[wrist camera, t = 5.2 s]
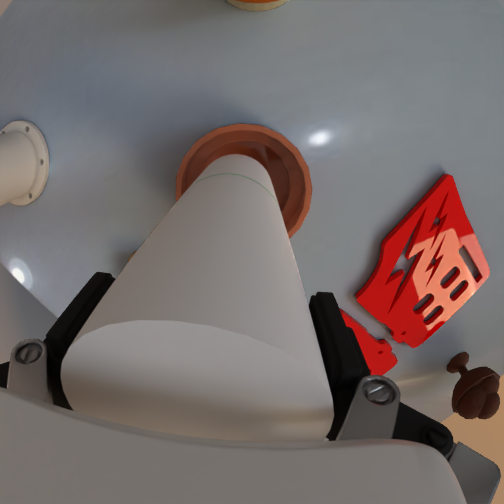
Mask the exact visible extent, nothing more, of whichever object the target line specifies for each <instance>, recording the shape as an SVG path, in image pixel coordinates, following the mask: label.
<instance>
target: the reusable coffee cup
mask: <svg viewBox="0 0 504 504" xmlns="http://www.w3.org/2000/svg"><path fill="white" fill-rule="evenodd" d="M226 1H227V2H228V3H230V4H232V5H233V6H235V7H238V8H240V9H244V10H247V11H266V10H271V9H274V8H277V7H279V6H281V5H283V4H284V3H285V2H287V1H288V0H226Z"/></svg>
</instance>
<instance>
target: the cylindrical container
mask: <svg viewBox="0 0 504 504" xmlns="http://www.w3.org/2000/svg"><path fill="white" fill-rule="evenodd" d="M60 377H61V382H62V387H63V391H64V393H65V396H66V398H67V400H68V402H69V404H70V406H71V407H72V409H73V410H74V411H75V412H78V413H81V414H85V415H88V416H92V417H95V418H99V419H103V420H107V421H111V422H115V423H119V424H124V425H128V426H133V427H137V428H142V429H148V430H153V431H159V432H164V433H171V434H177V435H184V436H192V437H200V438H210V439H221V440H233V441H251V442H321V441H323V440H324V439H325V437H326V436H327V434H328V433H329V431H330V429H331V425H332V422H333V418H334V409H333V399H332V395H331V391H330V387H329V383H328V379H327V375H326V371H325V367H324V363H323V359H322V355H321V351H320V348H319V344H318V340H317V336H316V332H315V329H314V325H313V321H312V318H311V314H310V310H309V307H308V303H307V299H306V296H305V292H304V289H303V285H302V282H301V278H300V275H299V271H298V268H297V264H296V261H295V257H294V254H293V251H292V247H291V244H290V241H289V237H288V234H287V231H286V227H285V224H284V221H283V217H282V214H281V211H280V208H279V204H278V201H277V198H276V195H275V192H274V188H273V185H272V182H271V179H270V177H269V174H268V172H267V171H266V169H265V168H264V167H263V166H262V165H261V164H260V163H259V162H258V161H257V160H255V159H253V158H251V157H248V156H245V155H240V154H230V155H226V156H222V157H220V158H218V159H216V160H215V161H213V162H212V163H211V164H210V165H209V166H208V167H207V168H206V169H205V170H204V171H203V172H202V173H201V175H200V176H199V177H198V178H197V179H196V180H195V181H194V182H193V184H192V185H191V186H190V187H189V188H188V189H187V190H186V192H185V193H184V194H183V195H182V196H181V197H180V199H179V200H178V201H177V202H176V203H175V205H174V206H173V207H172V208H171V209H170V210H169V212H168V213H167V214H166V215H165V217H164V218H163V219H162V220H161V221H160V223H159V224H158V225H157V226H156V228H155V229H154V230H153V231H152V233H151V234H150V235H149V236H148V238H147V239H146V240H145V241H144V243H143V244H142V245H141V246H140V248H139V249H138V250H137V252H136V253H135V254H134V256H133V257H132V258H131V260H130V261H129V262H128V263H127V265H126V266H125V267H124V269H123V270H122V271H121V273H120V274H119V276H118V277H117V278H116V280H115V281H114V282H113V284H112V285H111V287H110V288H109V289H108V291H107V292H106V294H105V295H104V296H103V298H102V299H101V301H100V302H99V303H98V305H97V306H96V308H95V309H94V311H93V312H92V314H91V315H90V317H89V318H88V320H87V321H86V323H85V324H84V326H83V327H82V329H81V330H80V332H79V333H78V335H77V336H76V338H75V339H74V341H73V342H72V344H71V346H70V347H69V349H68V351H67V353H66V355H65V357H64V359H63V361H62V366H61V376H60Z"/></svg>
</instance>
